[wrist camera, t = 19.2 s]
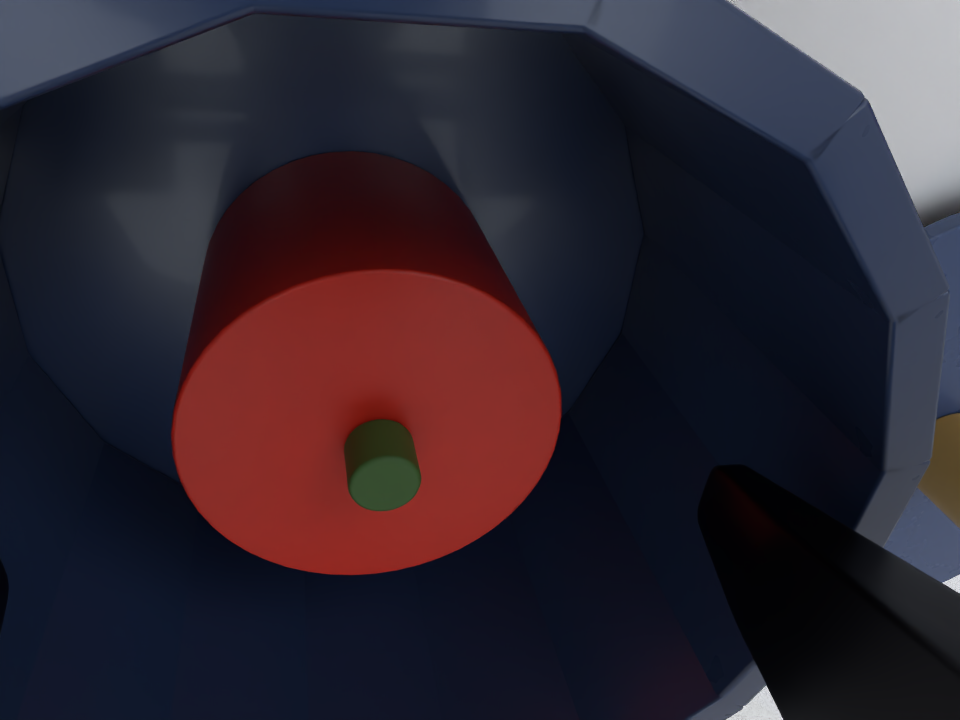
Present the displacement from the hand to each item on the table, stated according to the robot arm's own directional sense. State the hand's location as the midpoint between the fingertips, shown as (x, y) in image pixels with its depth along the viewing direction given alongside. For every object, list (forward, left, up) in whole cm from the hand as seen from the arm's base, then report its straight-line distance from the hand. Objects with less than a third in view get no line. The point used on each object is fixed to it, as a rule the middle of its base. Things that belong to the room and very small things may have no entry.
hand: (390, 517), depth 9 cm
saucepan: (0, 0, -7) cm, 7 cm away
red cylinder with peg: (0, 0, -6) cm, 6 cm away
